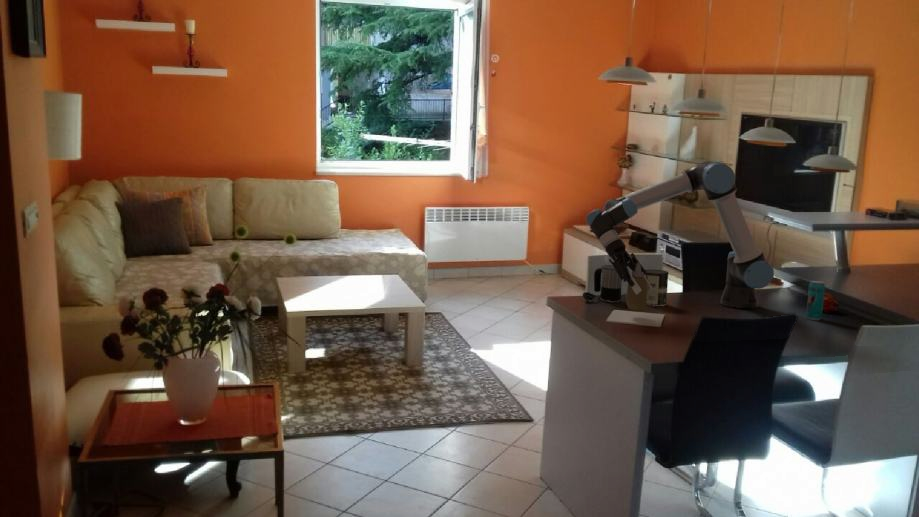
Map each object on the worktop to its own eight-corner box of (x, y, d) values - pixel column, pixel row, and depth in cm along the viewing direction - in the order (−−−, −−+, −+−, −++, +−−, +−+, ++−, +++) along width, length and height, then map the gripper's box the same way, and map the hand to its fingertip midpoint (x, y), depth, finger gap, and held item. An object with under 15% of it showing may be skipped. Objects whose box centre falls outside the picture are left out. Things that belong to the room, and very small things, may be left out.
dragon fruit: (814, 311, 342) (835, 321, 331) (803, 300, 338) (824, 311, 327) (826, 295, 341) (848, 305, 331) (816, 284, 338) (837, 294, 327)
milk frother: (625, 300, 347) (627, 266, 345) (609, 306, 334) (611, 271, 332) (594, 296, 355) (596, 262, 353) (578, 301, 342) (580, 267, 340)
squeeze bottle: (646, 307, 315) (649, 262, 313) (646, 311, 308) (648, 265, 305) (625, 305, 317) (628, 260, 315) (624, 310, 310) (627, 263, 307)
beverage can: (802, 317, 321) (806, 280, 319) (814, 316, 324) (817, 280, 321) (813, 321, 316) (817, 283, 314) (825, 320, 318) (828, 282, 316)
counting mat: (664, 315, 319) (664, 314, 319) (660, 327, 301) (660, 325, 301) (613, 311, 326) (613, 309, 326) (606, 321, 307) (606, 320, 307)
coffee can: (663, 302, 346) (665, 269, 344) (669, 307, 336) (671, 273, 334) (639, 301, 346) (641, 268, 344) (644, 306, 336) (646, 273, 334)
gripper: (622, 248, 327) (653, 294, 317) (591, 251, 314) (623, 300, 305) (633, 236, 322) (665, 283, 313) (602, 239, 309) (635, 288, 300)
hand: (644, 291), depth 309 cm, fingers closed on squeeze bottle, 6 cm apart
